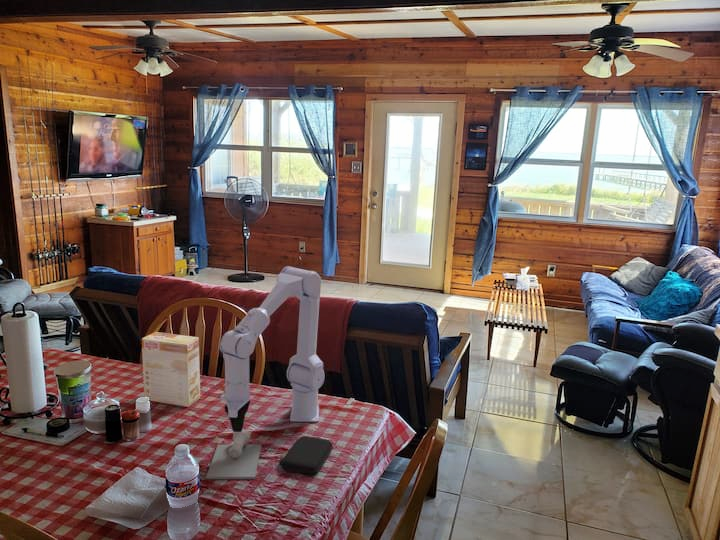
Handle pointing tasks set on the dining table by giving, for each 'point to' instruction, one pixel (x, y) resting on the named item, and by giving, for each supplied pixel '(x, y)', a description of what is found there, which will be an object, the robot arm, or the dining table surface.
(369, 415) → the dining table surface
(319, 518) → the dining table surface
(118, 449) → the dining table surface
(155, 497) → the dining table surface
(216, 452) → the slate mat
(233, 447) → the rook chess piece
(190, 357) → the coffeecake box
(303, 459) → the carrying case or bag
